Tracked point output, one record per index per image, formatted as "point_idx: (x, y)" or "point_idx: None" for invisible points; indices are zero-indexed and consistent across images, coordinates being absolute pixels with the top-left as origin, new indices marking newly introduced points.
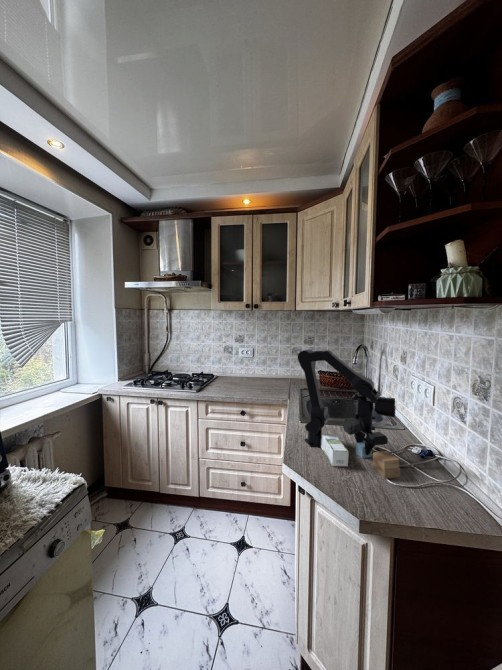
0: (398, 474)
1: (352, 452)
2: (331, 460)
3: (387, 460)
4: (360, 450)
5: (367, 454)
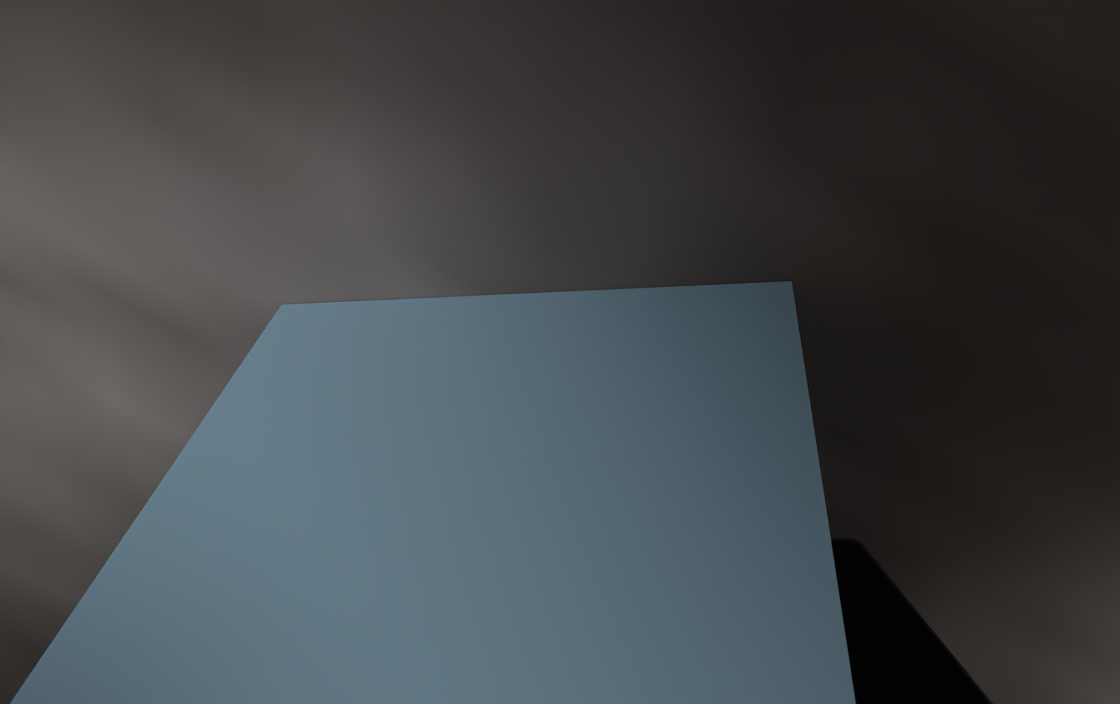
0: None
1: (874, 145)
2: None
3: None
4: (325, 493)
5: None
